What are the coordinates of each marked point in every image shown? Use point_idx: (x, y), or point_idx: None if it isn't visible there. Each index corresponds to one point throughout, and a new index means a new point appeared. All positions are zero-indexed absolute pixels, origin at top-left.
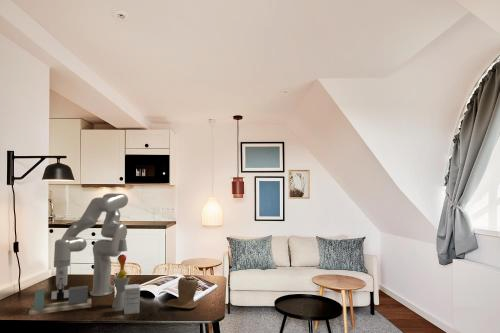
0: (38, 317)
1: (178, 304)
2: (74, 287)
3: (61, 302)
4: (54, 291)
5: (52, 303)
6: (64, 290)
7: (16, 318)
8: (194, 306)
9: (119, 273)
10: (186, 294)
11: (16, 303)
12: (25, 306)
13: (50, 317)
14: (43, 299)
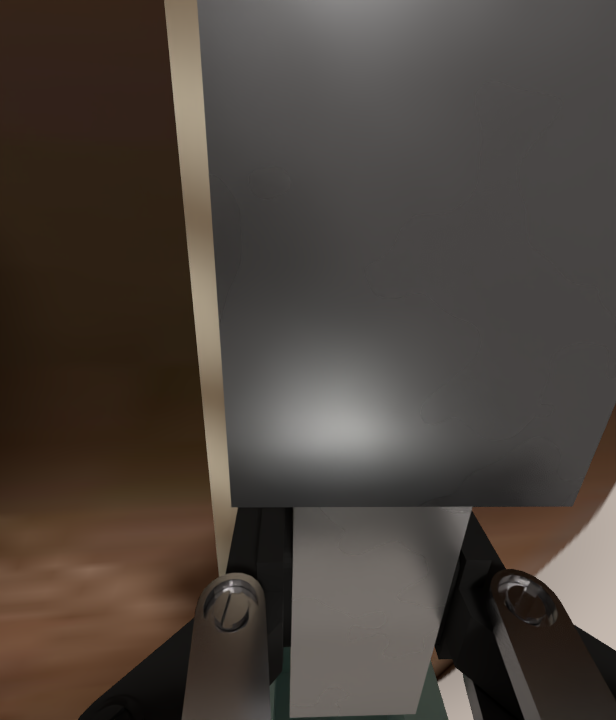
0: (516, 545)
1: None
2: (339, 340)
3: (213, 413)
4: (320, 691)
5: (216, 498)
6: (339, 555)
7: (433, 650)
8: None
9: None
10: None
11: (22, 694)
12: (134, 643)
13: (593, 467)
14: (433, 678)
